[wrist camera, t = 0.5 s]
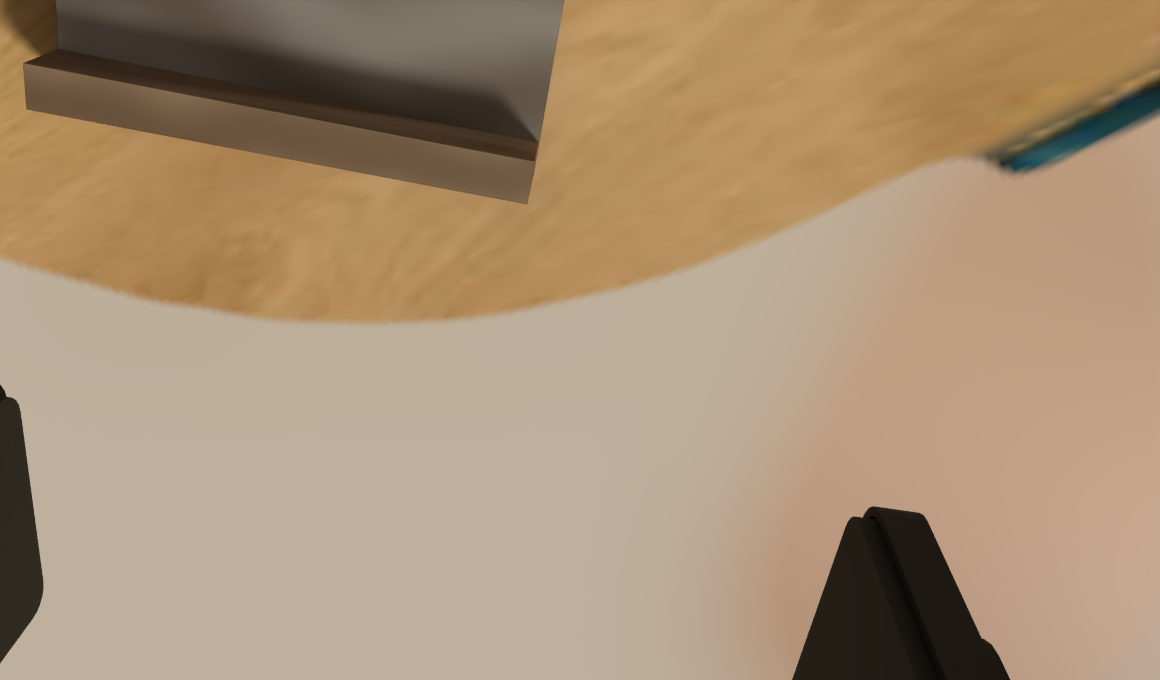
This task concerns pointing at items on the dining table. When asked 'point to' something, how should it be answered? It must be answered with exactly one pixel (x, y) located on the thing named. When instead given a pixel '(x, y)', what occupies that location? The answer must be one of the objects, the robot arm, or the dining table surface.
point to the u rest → (318, 81)
